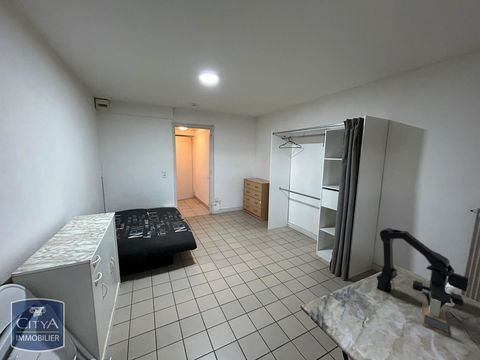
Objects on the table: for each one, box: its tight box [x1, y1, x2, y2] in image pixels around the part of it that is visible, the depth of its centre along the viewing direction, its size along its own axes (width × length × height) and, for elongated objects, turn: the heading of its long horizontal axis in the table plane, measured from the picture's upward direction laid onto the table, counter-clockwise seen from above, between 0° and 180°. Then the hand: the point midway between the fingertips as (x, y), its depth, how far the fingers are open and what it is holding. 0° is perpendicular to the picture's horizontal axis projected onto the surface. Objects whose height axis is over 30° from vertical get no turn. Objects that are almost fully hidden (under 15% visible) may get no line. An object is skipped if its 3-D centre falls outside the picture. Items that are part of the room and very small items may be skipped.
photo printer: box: [445, 282, 459, 307], centre depth 111 cm, size 10×4×12 cm, turn 123°
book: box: [429, 292, 441, 318], centre depth 103 cm, size 4×8×9 cm, turn 137°
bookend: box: [424, 315, 449, 333], centre depth 94 cm, size 8×1×4 cm, turn 47°
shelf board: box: [421, 300, 449, 337], centre depth 101 cm, size 9×20×1 cm, turn 137°
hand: (434, 306), depth 103 cm, fingers closed on book, 3 cm apart
